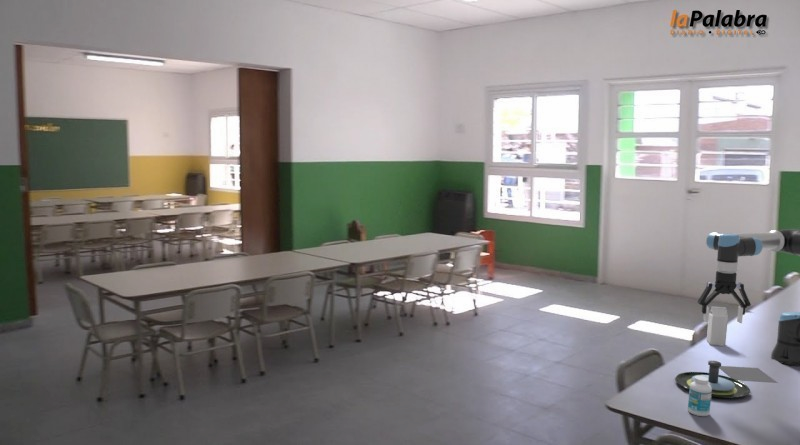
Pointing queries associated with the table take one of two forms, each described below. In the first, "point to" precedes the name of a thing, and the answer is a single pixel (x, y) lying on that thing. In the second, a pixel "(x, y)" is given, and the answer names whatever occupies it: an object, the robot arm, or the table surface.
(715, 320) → the milk carton
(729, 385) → the lid
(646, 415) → the table surface
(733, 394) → the plate
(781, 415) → the table surface
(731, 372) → the mat
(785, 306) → the table surface
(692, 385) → the pill bottle
